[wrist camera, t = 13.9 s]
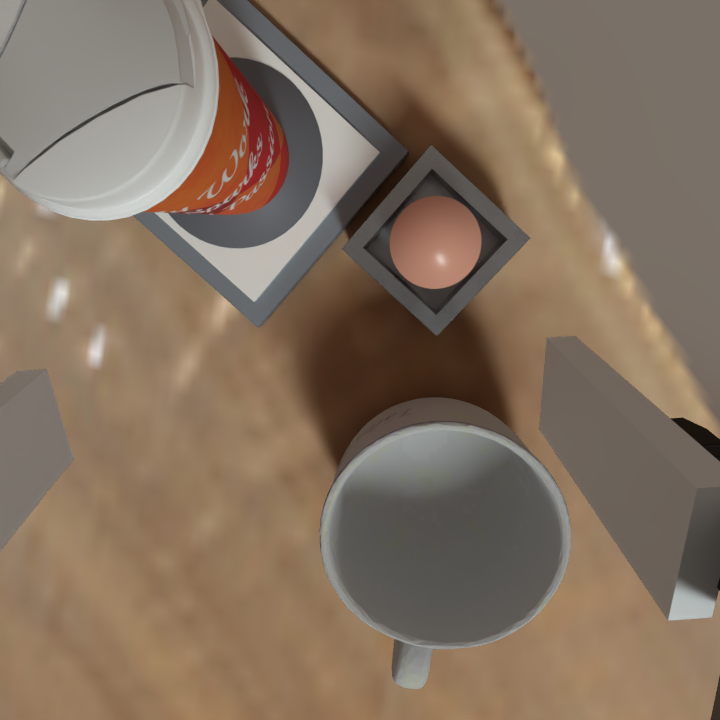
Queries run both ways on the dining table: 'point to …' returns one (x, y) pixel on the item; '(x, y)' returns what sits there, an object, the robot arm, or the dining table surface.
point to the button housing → (419, 182)
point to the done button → (435, 242)
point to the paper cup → (130, 112)
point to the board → (304, 176)
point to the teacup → (442, 531)
